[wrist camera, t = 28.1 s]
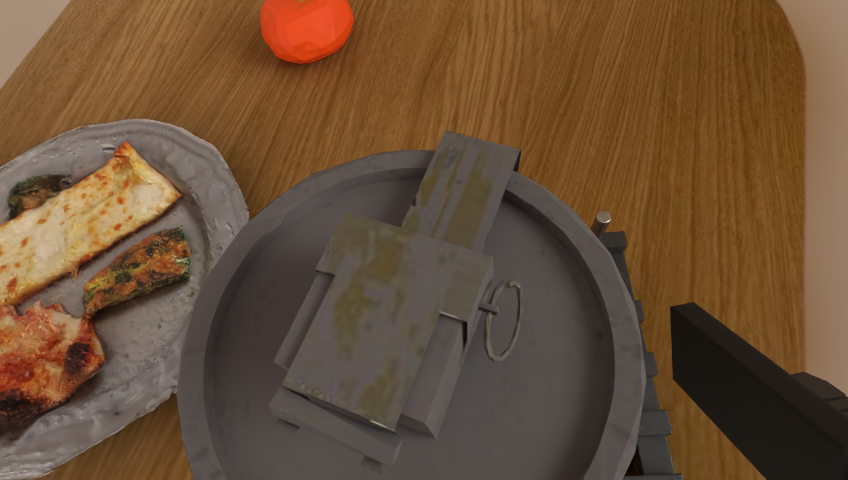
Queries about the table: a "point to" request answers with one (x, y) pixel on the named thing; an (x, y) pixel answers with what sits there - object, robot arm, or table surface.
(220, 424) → the canister
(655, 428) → the dish rack
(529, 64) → the table surface
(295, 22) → the pumpkin
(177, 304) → the food plate
